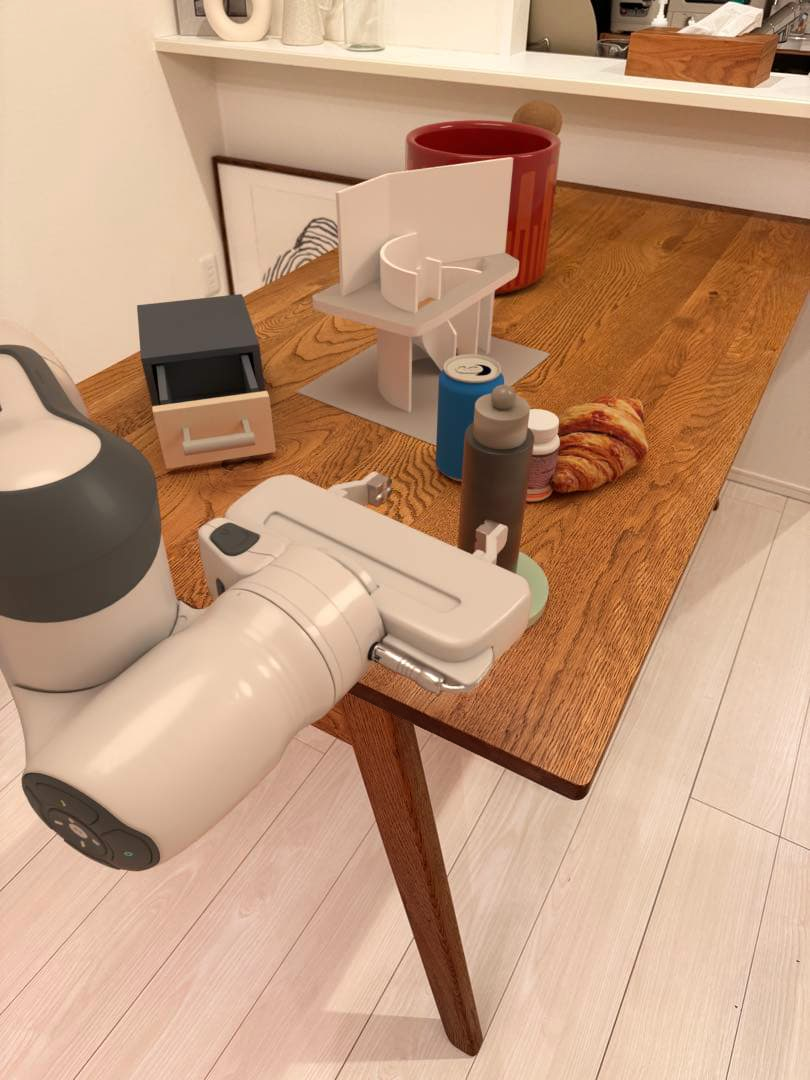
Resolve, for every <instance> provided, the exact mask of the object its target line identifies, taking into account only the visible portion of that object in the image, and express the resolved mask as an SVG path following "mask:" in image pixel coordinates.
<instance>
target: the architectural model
mask: <svg viewBox="0 0 810 1080" xmlns="http://www.w3.org/2000/svg"><path fill="white" fill-rule="evenodd" d="M512 168H513V158H511V157H509V158H501V159H494V160H486V161H478V162H471V163H463V164H455V165H448V166H440V167H433V168H425V169H417V170H410V171H405V170H402V171H395V172H387V173H384V174H381V175H379V176H376V177H373V178H371V179H368V180H365V181H363V182H362V181H361V182H359V183H357V184H354V185H351V186H349V187H346V188H343V189H341V190H338V191H335V206H336V207H335V208H336V224H337V225H336V227H337V228H336V229H337V246H338V247H337V248H338V263H339V264H338V267H339V281H338V282H336V283H334V284H332V285H330V286H328V287H326V288H324V289H322V290H320V291H317V292H316V293H314V294H313V295H312V296H311V298H312V299H311V300H312V308H313V310H315V311H318V312H321V313H324V314H327V315H330V316H334V317H338V318H341V319H343V320H348V321H351V322H355V323H358V324H363V325H366V326H369V327H373V328H376V343H374V344H372V345H370V346H369V347H367V348H366V349H364V350H362V351H360V352H359V353H357V354H355V355H354V356H352V357H350V358H349V359H347V360H346V361H343V362H342V363H341V364H339V365H337V366H336V367H333V368H332V369H330V370H329V371H327V372H326V373H324V374H322V375H321V376H319V377H317V378H316V379H313V380H312V381H311V382H309V383H307V384H305V385H304V386H301V388H298V389H297V390H296V391H295V393H297V394H300V395H303V396H306V397H308V398H310V399H313V400H316V401H318V402H321V403H323V404H327V405H329V406H332V407H335V408H337V409H339V410H342V411H345V412H347V413H349V414H353V415H355V416H357V417H361V418H363V419H366V420H368V421H371V422H373V423H376V424H378V425H381V426H383V427H386V428H389V429H391V430H394V431H396V432H399V433H402V434H404V435H407V436H410V437H412V438H414V439H418V440H420V441H423V442H424V443H428V444H430V445H433V446H435V447H436V440H437V413H438V386H439V375H440V373H441V372H442V370H443V369H444V363H445V362H446V361H447V360H448V359H450V358H452V357H455V356H458V355H465V354H476V355H483V356H486V357H489V358H492V359H494V360H495V361H497V362H498V363H499V364H500V366H501V373H502V375H503V377H504V385H508V386H510V387H512V386H514V385H515V384H516V383H518V382H519V381H521V379H522V378H524V377H525V376H526V375H527V374H528V373H530V372H531V371H532V370H534V369H535V368H537V366H539V365H540V364H541V363H542V362H544V361H545V360H546V359H547V358H548V357H549V356H551V355H552V353H549V352H546V351H543V350H540V349H536V348H532V347H529V346H527V345H523V344H519V343H516V342H512V341H510V340H506V339H503V338H499V337H496V336H492V330H493V329H492V327H493V318H494V304H495V295H494V294H495V290H496V289H498V288H499V287H501V286H502V285H504V284H506V283H507V282H509V281H510V280H512V279H513V278H515V277H516V276H517V274H518V270H519V261H518V260H517V259H515V258H514V257H512V256H510V255H509V254H507V253H505V247H506V236H507V224H508V213H509V202H510V190H511V179H512Z"/></svg>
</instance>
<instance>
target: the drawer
mask: <svg viewBox="0 0 810 1080" xmlns="http://www.w3.org/2000/svg"><path fill="white" fill-rule="evenodd" d="M156 367H157V377H158V386H159V396H160V403H161V405H159V406H153V407H152V406H151V410H152V416H153V419H154V420H153V421H154V425H155V429H156V432H157V436H158V437H157V438H158V441H159V445H160V450H161V454H162V458H163V462H164V466H165V469H166V470H170V469H174V468H175V469H177V468H183V467H190V466H195V465H202V464H207V463H215V462H220V461H228V460H235V459H241V458H247V457H253V456H259V455H266V454H273V453H276V452H277V449H276V440H275V434H274V433H275V432H274V425H273V417H272V409H271V400H270V395H269V392H268V390H265V391H262V392H258V386H257V383H256V380H255V376H254V373H253V370H252V367H251V364H250V360H249V357H248V354H247V353H241V354H233V355H225V356H217V357H209V358H201V359H193V360H185V361H177V362H169V363H161V364H156Z"/></svg>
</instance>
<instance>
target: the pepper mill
mask: <svg viewBox="0 0 810 1080" xmlns="http://www.w3.org/2000/svg"><path fill="white" fill-rule="evenodd" d="M530 410H531V406H530V404H529V402H528V401H527V400H526V399H525V398H523V397H521V396H519V395H517V394H516V392H515V390H514V388H513V387H512V386H511V387H510V386H508V385H499V386H497V387H496V388H495V389H494V390H493V391H492V393H490V394H486V395H484V396H482V397H480V398H479V399H478V400H477V401H476V403H475V412H474V423H472V424H471V425H470V426H468V428H467V429H466V431H465V439H464V454H463V469H462V482H461V483H460V484H461V485H460V489H461V490H460V501H459V517H458V531H457V544H456V546H457V548H459V549H461V550H463V551H465V552H468V553H470V554H473V553H474V552H475V550H474V547H475V542H476V541H477V540H476V538H475V535H476V529H477V528H478V527H479V526H480V525H482V524H484V522H485V520H486V519H490V520H492V521H495V522H497V523H500V524H502V525H505V526H507V527H508V533H507V541H506V543H505V546H504V547H503V549H502V550H501V551H500V552H499V553H498V554H497V560H496V565H497V566H499V567H501V568H504V569H506V570H508V571H510V572H513V573H515V574H516V571H517V564H518V557H519V551H520V549H521V542H522V541H521V540H522V534H523V527H524V526H523V525H524V519H525V511H526V505H527V501H526V498H527V490H528V483H529V475H530V468H531V461H532V453H533V446H534V435H533V432H532V431H531V430H530V429H529V428H528V421H529V413H530Z"/></svg>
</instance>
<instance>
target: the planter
mask: <svg viewBox="0 0 810 1080" xmlns="http://www.w3.org/2000/svg"><path fill="white" fill-rule="evenodd" d="M561 145H562V140H561V139H560V137H559V136H558V135H555V134H554V133H552V132H550V131H548V130H545V129H542V128H539V127H535V126H531V125H526V124H520V123H512V121H504V120H503V121H501V120H488V119H487V120H483V119H481V120H478V119H474V120H473V119H470V120H466V119H465V120H450V121H442V122H441V121H440V122H435V123H430V124H426V125H422V126H420V127H416V128H413V129H412V130H410V131H409V132H408V133H407V134H406V136H405V146H404V147H405V151H404V153H405V155H404V171H410V170H417V169H425V168H433V167H440V166H448V165H455V164H463V163H471V162H478V161H486V160H494V159H501V158H509V157H511V158H513V168H512V179H511V190H510V202H509V213H508V224H507V236H506V247H505V253H507V254H509V255H510V256H512V257H514V258H515V259H517V260H518V261H519V270H518V274H517V276H516V277H515V278H513V279H512V280H510V281H509V282H507V283H506V284H504V285H502V286H501V287H499V288H498V289H496V290H495V294H494V296H497V295H504V294H509V293H514V292H518V291H520V290H523V289H525V288H528V287H530V286H531V285H533V284H535V283H537V282H538V281H539V280H540V279H541V278H542V277H543V276H544V274H545V272H546V268H547V262H548V253H549V245H550V239H551V238H550V236H551V230H552V229H551V228H552V221H553V212H554V207H555V206H554V205H555V197H556V188H557V179H558V170H559V163H560V154H561Z"/></svg>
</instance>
